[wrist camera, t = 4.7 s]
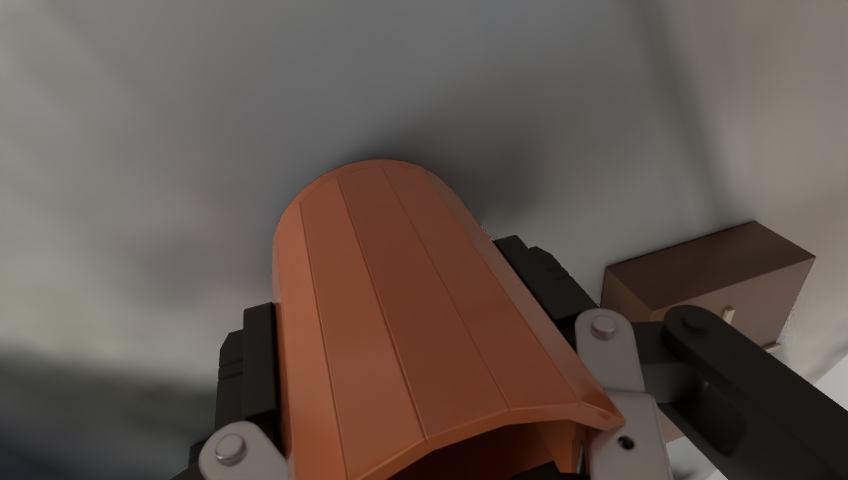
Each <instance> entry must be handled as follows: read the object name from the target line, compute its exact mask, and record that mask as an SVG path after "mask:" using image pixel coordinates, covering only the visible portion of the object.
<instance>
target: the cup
mask: <svg viewBox="0 0 848 480" xmlns="http://www.w3.org/2000/svg"><path fill="white" fill-rule="evenodd" d="M272 260H273V261H272V268H271V275H272V292H273V306H274V323H275V339H276V356H277V372H278V389H279V406H280V427H281V444H282V455H283V457H284V458H285V459H286V460H287V471H288V480H508V479H509V478H511V477H512V476H513V475H515V474H518V473H521V472H523V471H526V470H529V469H531V468H534V467H537V466H539V465H542V464H545V463H547V462H550V461H553V460H554V462H555V464H556V466H557V468H558V469H559V471H560V473H563V472H569V473H571V461H572V440H573V441H574V436H575V429H576V422H577V423H580V424H583V425H586V426H589V427H593V428H596V429H599V430H602V431H607V430H609V429H612V428H615V427H618V426H620V425H623V424H625V423H626V420H625V418H624V417H623V415H622V414H621V413H620V411H619V410H618V409H617V407H616V406H615V405H614V403H613V402H612V401H611V399H610V398H609V397H608V395H607V394H606V393H605V391H604V390H603V389H602V387H601V386H600V385H599V383H598V382H597V381H596V379H595V378H594V377H593V375H592V374H591V373H590V371H589V370H588V369H587V367H586V366H585V365H584V363H583V362H582V361H581V359H580V358H579V357H578V355H577V354H576V353H575V351H574V350H573V349H572V347H571V346H570V345H569V343H568V342H567V341H566V339H565V338H564V337H563V335H562V334H561V333H560V331H559V330H558V329H557V327H556V326H555V325H554V323H553V322H552V321H551V319H550V318H549V317H548V315H547V314H546V313H545V311H544V310H543V309H542V307H541V306H540V305H539V303H538V302H537V301H536V299H535V298H534V297H533V295H532V294H531V293H530V291H529V290H528V289H527V287H526V286H525V285H524V283H523V282H522V281H521V279H520V278H519V277H518V275H517V274H516V273H515V271H514V270H513V269H512V267H511V266H510V265H509V263H508V262H507V261H506V259H505V258H504V257H503V255H502V254H501V253H500V251H499V250H498V249H497V247H496V246H495V245H494V243H493V242H492V241H491V239H490V238H489V237H488V235H487V234H486V233H485V231H484V230H483V229H482V227H481V226H480V225H479V223H478V222H477V221H476V219H475V218H474V217H473V215H472V214H471V213H470V211H469V210H468V209H467V207H466V206H465V205H464V203H463V202H462V201H461V199H460V198H459V197H458V195H457V194H456V193H455V192H454V191H453V190H452V189H451V188H450V187H449V186H448V185H447V184H446V183H445V182H444V181H443V180H442V179H440V178H439V177H438V176H436V175H435V174H434V173H432V172H430V171H428V170H426V169H424V168H423V167H420V166H417V165H414V164H412V163H408V162H403V161H398V160H387V159H377V160H366V161H360V162H354V163H351V164H348V165H344V166H341V167H339V168H337V169H334V170H332V171H330V172H328V173H326V174H324V175H322V176H321V177H319V178H317V179H316V180H314V181H313V182H312V183H310V184H309V185H308V186H307V187H305V188H304V189H303V190H302V191H301V192H300V193H299V194H298V195H297V196H296V197H295V198H294V199H293V201H292V202H291V203H290V204H289V206H288V207H287V208H286V210H285V212H284V213H283V215H282V217H281V219H280V221H279V223H278V226H277V228H276V231H275V235H274V240H273V248H272Z"/></svg>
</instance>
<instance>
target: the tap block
mask: <svg viewBox="0 0 848 480" xmlns="http://www.w3.org/2000/svg"><path fill="white" fill-rule="evenodd" d="M815 258H816V256H815V255H813V254H811V253H810V252H808V251H806V250H804V249H803V248H801V247H799V246H797V245H796V244H794V243H792V242H791V241H789V240H787V239H785V238H784V237H782V236H780V235H778V234H777V233H775V232H773V231H772V230H770V229H768V228H766V227H765V226H763V225H761V224H759V223H758V222H756V221H755V222H751V223H748V224H745V225H742V226H739V227H735V228H732V229H729V230H726V231H723V232H719V233H716V234H713V235H710V236H707V237H703V238H700V239H697V240H694V241H691V242H687V243H684V244H681V245H678V246H675V247H671V248H668V249H665V250H662V251H659V252H655V253H652V254H649V255H646V256H643V257H639V258H636V259H633V260H630V261H627V262H623V263H620V264H617V265H614V266H611V267H607V268H606V274H605V281H604V288H603V295H602V302H601V308H602V309H608V310H612V311H615V312H617V313H619V314H621V315H622V316H624V317H625V318H626V319H627V320H628V321H629V322H652V321H663V320H664V316H665V314H666V312H667V311H668V310H669V309H670V308H672V307H675V306H678V305H694V306H699V307H702V308H705V309H707V310H709V311H711V312H713V313H715V314H716V315H718V316H719V317H720V318H722V319H723V320H724V321H726V322H727V323H728V324H730V325H731V326H733V327H734V328H735V329H737V330H738V331H739V332H741V333H742V334H743V335H745V336H746V337H748V338H749V339H750V340H752V341H753V342H754V343H756V344H757V345H758V346H760V347H761V348H762V349H764V350H765V351H767V352H768V353H769V354H771V352H773V351H776V350H778V349H779V347H780V345H781V344H780V343H776V341H777V339H778V337H779V335H780V333H781V331H782V328H783V326H784V324H785V322H786V320H787V318H788V316H789V314H790V311H791V309H792V307H793V305H794V303H795V301H796V299H797V296H798V294H799V292H800V290H801V288H802V286H803V284H804V282H805V279H806V277H807V275H808V273H809V271H810V269H811V267H812V264H813V262H814V260H815ZM657 408H658V407H657ZM658 412H659V417H660V421H661V426H662V430H663V435H664V440H665V443H668V442H670V441H673V440H675V439H678V438H680V437H683V436H685V435H684V434H683V433H682V432H681V431H680V430H679V429H678V428H677V427H676V426H675V425H674V424H673V422H672V421H671V420H670V419H669V418H668V417H667V416H666V415H665V414H664V413H663V412H662V411H661V410H660V409H659V408H658Z"/></svg>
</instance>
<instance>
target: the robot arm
mask: <svg viewBox="0 0 848 480" xmlns="http://www.w3.org/2000/svg"><path fill="white" fill-rule="evenodd" d="M492 242H493V243H494V245H495V246H496V247H497V249H498V250H499V251H500V253H501V254H502V255H503V257H504V258H505V259H506V261H507V262H508V263H509V265H510V266H511V267H512V269H513V270H514V271H515V273H516V274H517V275H518V277H519V278H520V279H521V281H522V282H523V283H524V285H525V286H526V287H527V289H528V290H529V291H530V293H531V294H532V295H533V297H534V298H535V299H536V301H537V302H538V303H539V305H540V306H541V307H542V309H543V310H544V311H545V313H546V314H547V315H548V317H549V318H550V319H551V321H552V322H553V323H554V325H555V326H556V327H557V329H558V330H559V331H560V333H561V334H562V335H563V337H564V338H565V339H566V341H567V342H568V343H569V345H570V346H571V347H572V349H573V350H574V351H575V353H576V354H577V355H578V357H579V358H580V359H581V361H582V362H583V363H584V365H585V366H586V367H587V369H588V370H589V371H590V373H591V374H592V375H593V377H594V378H595V379H596V381H597V382H598V383H599V385H600V386H601V387H602V389H603V390H604V391H605V393H606V394H607V395H608V397H609V398H610V399H611V401H612V402H613V403H614V405H615V406H616V407H617V409H618V410H619V411H620V413H621V414H622V415H623V417H624V418H625V420H626V423H625V424H623V425H620V426H618V427H615V428H612V429H609V430H607V431H602V430H599V429H596V428H593V427H589V426H586V425H583V424H580V423H577V422H576V429H575V436H574V441H573V440H572V461H571V473H569V472H563V473H560V471H559V469H558V468H557V466H556V464H555V462H554V460H553V461H550V462H547V463H545V464H542V465H539V466H537V467H534V468H531V469H529V470H526V471H523V472H521V473H518V474H515V475H513V476H512V477H511V478H509V479H508V480H673V476H672V471H671V467H670V462H669V458H668V453H667V449H666V444H665V440H664V435H663V430H662V426H661V421H660V417H659V412H658V408H659V409H660V410H661V411H662V412H663V413H664V414H665V415H666V416H667V417H668V418H669V419H670V420H671V421H672V422H673V424H674V425H675V426H676V427H677V428H678V429H679V430H680V431H681V432H682V433H683V434H684V435H685V436H686V437H687V438H688V439H689V440H690V441H691V442H692V443H693V444H694V445H695V446H696V447H697V448H698V449H699V450H700V451H701V452H702V453H703V454H704V455H705V456H706V457H707V458H708V459H709V460H710V461H711V463H712V464H713V465H714V466H715V467H716V468H717V469H718V470H719V471H720V472H721V473H722V474H723V475H724V476H725V477H726V478H727V479H728V480H848V411H847V410H845V409H844V408H843V407H841V406H840V405H839V404H837V403H836V402H835V401H833V400H832V399H830V398H829V397H828V396H826V395H825V394H824V393H822V392H821V391H819V390H818V389H817V388H815V387H814V386H813V385H811V384H810V383H809V382H807V381H806V380H805V379H803V378H802V377H801V376H799V375H798V374H797V373H795V372H794V371H792V370H791V369H790V368H788V367H787V366H786V365H784V364H783V363H782V362H780V361H779V360H777V359H776V358H775V357H773V356H772V355H771V354H769V353H768V352H767V351H765V350H764V349H762V348H761V347H760V346H758V345H757V344H756V343H754V342H753V341H752V340H750V339H749V338H748V337H746V336H745V335H743V334H742V333H741V332H739V331H738V330H737V329H735V328H734V327H733V326H731V325H730V324H728V323H727V322H726V321H724V320H723V319H722V318H720V317H719V316H718V315H716V314H715V313H713V312H711V311H709V310H707V309H705V308H702V307H699V306H694V305H678V306H675V307H672V308H670V309H669V310H668V311H667V312H666V314H665V316H664V320H663V321H652V322H629V321H628V320H627V319H626V318H625V317H624V316H622V315H621V314H619V313H617V312H615V311H612V310H608V309H602V308H599V307H598V306H597V304H596V303H595V302H594V301H593V300H592V299H591V298H590V297H589V296H588V294H587V293H586V292H585V291H584V290H583V289H582V288H581V287H580V286H579V284H578V283H577V282H576V281H575V280H574V279H573V278H572V277H571V276H569V273H568V272H567V271H566V270H565V269H564V268H563V267H561V265H560V263H559V262H558V261H557V260H556V259H555V258H554V257H553V256H552V255H551V254H550V253H548V252H546V251H544V250H542V249H540V248H538V247H537V246H536V247H532V248H529V249H528V248H527V247H526V245H525V244H524V243H523V242H522V241H521V239H520V238H519V237H518V236H516V235H513V236H509V237H506V238H502V239H498V240H495V241H492ZM219 367H220V368H219V372H218V379H219V381H218V387H217V401H216V416H215V429H214V434H213V435H212V436H211V437H210V438H209V439H208V441H207V442H206V443H205V445H204V446H203V448H202V450H201V453H200V456H199V459H198V460H197V461H196V462H195V463H194V464H193V465H192V466H190V467H189V468H187V469H186V470H185V471H183V472H181V473H180V474H178V475H177V476H175V477H173V478H172V479H170V480H288V471H287V460H286V459H285V458H284V457H283V455H282V444H281V427H280V406H279V389H278V372H277V356H276V339H275V323H274V306H273V303H272V302H269V303H266V304H262V305H258V306H255V307H251V308H248V309H245V310H244V322H243V329H242V330H238V331H235V332H231V333H229V334H228V336H227V338H226V340H225V341H224V343H223V345H222V347H221V349H220V358H219ZM657 407H658V408H657Z"/></svg>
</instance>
